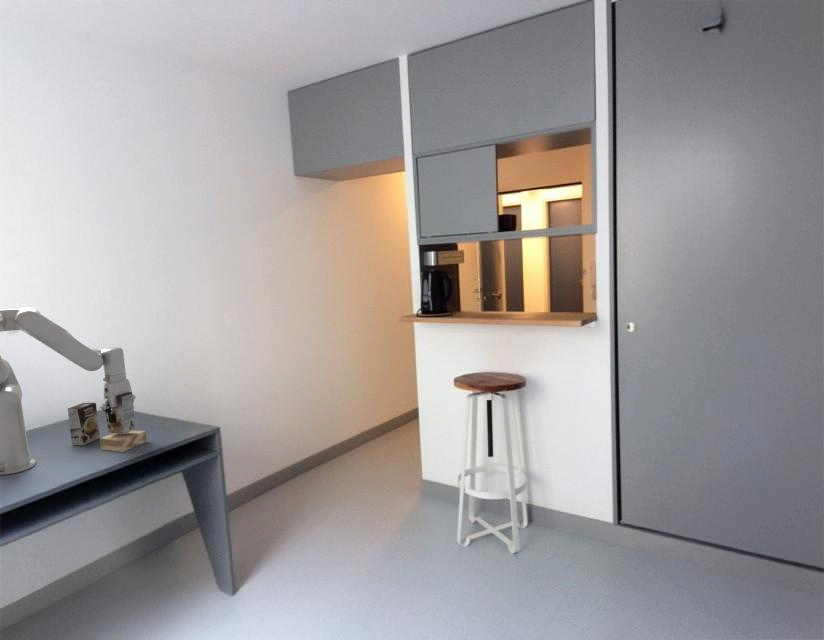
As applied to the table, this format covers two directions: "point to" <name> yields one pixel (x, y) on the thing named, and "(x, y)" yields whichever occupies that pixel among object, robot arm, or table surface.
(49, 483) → the table surface
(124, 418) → the coffee box
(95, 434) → the coffee box
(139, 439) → the oak block
